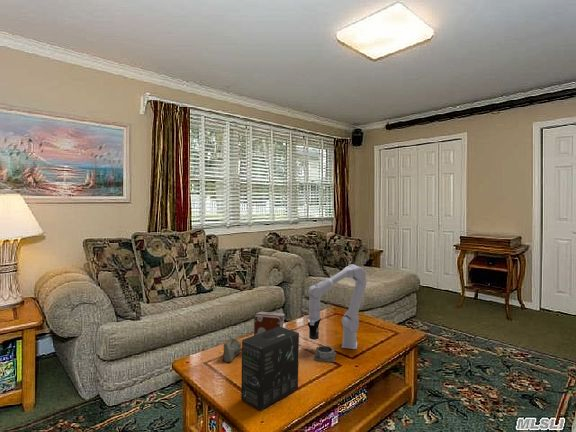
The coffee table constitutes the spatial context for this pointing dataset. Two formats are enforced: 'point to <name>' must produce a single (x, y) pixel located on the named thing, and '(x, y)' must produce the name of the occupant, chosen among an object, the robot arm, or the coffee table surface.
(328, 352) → the mount
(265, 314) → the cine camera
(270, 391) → the headset box
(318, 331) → the lens
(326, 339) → the coffee table surface
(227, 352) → the mineral rock
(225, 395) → the coffee table surface
